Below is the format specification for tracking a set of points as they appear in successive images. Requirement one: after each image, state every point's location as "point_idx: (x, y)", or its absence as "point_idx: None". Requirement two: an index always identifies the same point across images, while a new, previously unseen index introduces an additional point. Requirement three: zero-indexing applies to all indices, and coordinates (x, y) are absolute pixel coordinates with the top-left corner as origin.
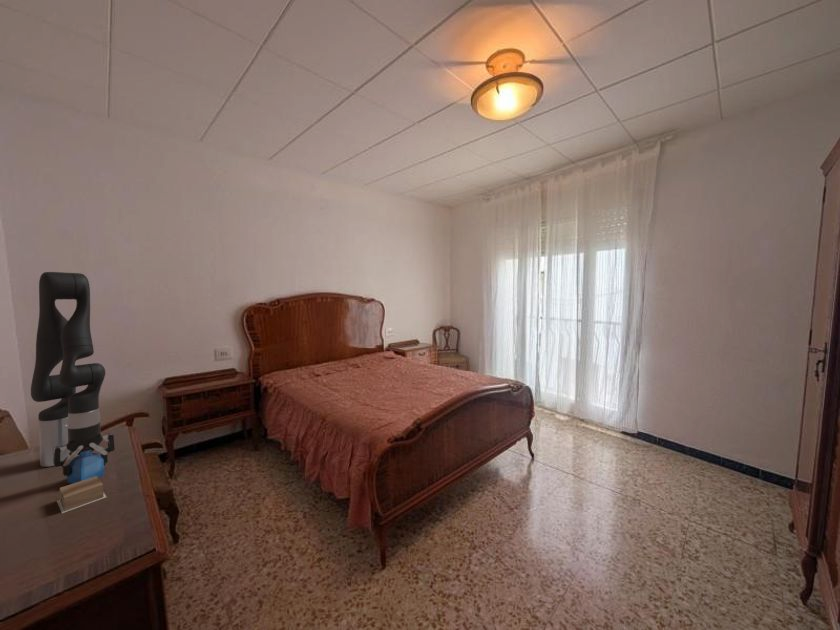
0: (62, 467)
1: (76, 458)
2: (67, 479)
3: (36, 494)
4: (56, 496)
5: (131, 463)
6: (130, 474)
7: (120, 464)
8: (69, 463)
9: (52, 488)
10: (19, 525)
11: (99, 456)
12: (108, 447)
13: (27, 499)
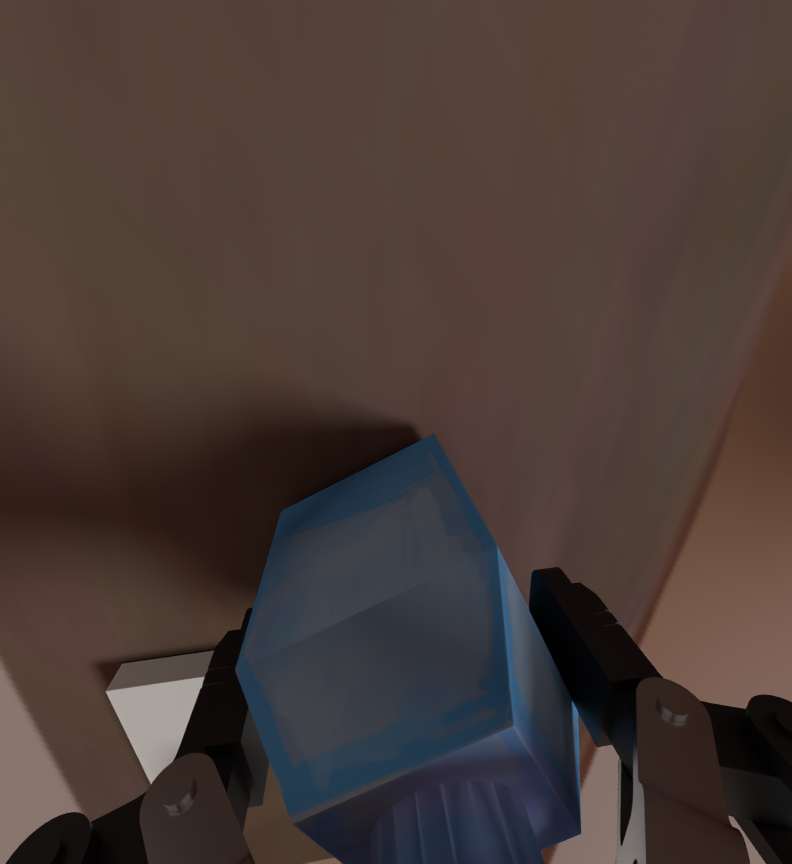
0: (187, 735)
1: (333, 854)
2: (273, 541)
3: (90, 486)
4: (232, 612)
5: (700, 403)
6: (610, 596)
7: (648, 350)
8: (255, 716)
9: (185, 457)
10: (118, 797)
11: (572, 769)
12: (776, 781)
13: (50, 531)
